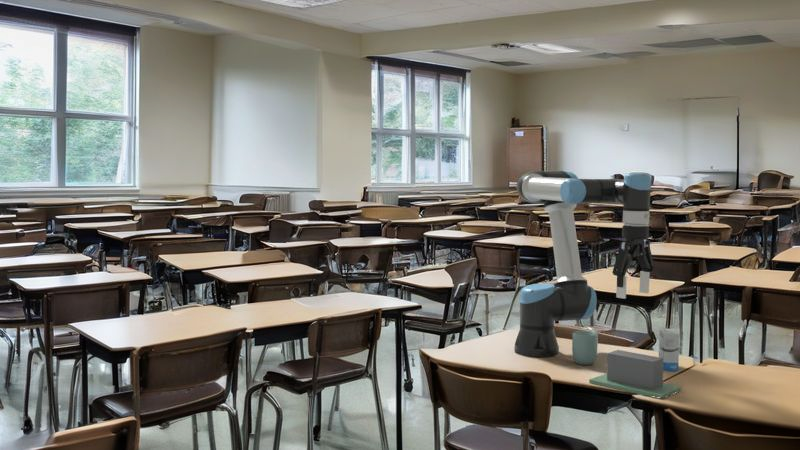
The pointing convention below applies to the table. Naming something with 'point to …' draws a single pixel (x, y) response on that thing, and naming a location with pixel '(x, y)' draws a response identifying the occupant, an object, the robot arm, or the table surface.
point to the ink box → (669, 349)
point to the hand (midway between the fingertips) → (632, 295)
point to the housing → (635, 369)
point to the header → (658, 392)
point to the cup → (584, 347)
